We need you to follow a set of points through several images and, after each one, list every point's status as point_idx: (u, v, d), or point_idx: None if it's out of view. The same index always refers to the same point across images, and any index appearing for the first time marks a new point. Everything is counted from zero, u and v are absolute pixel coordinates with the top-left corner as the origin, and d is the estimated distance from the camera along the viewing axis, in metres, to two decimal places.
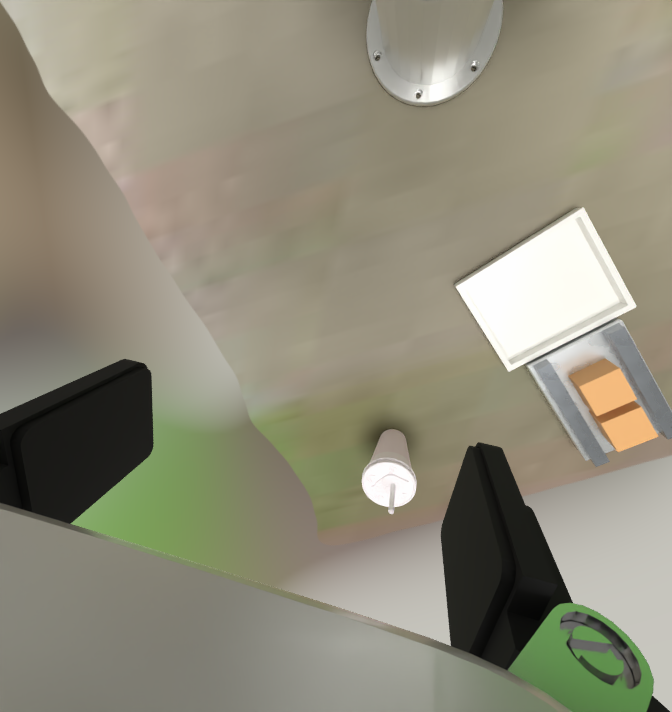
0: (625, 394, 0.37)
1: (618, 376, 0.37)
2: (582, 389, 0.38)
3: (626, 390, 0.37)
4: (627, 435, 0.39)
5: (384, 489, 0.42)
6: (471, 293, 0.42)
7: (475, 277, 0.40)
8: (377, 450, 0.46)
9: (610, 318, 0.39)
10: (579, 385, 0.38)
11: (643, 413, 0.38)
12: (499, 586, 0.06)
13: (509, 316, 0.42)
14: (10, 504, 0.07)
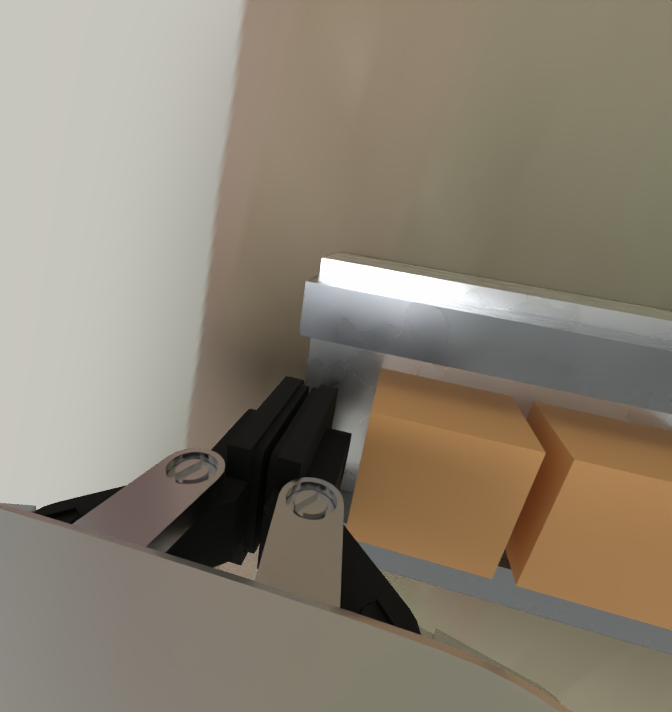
0: (567, 578, 0.09)
1: (658, 611, 0.09)
2: None
3: (579, 589, 0.09)
4: (417, 481, 0.09)
5: None
6: None
7: None
8: None
9: None
10: None
11: (462, 566, 0.10)
12: (269, 470, 0.08)
13: None
14: (243, 517, 0.08)
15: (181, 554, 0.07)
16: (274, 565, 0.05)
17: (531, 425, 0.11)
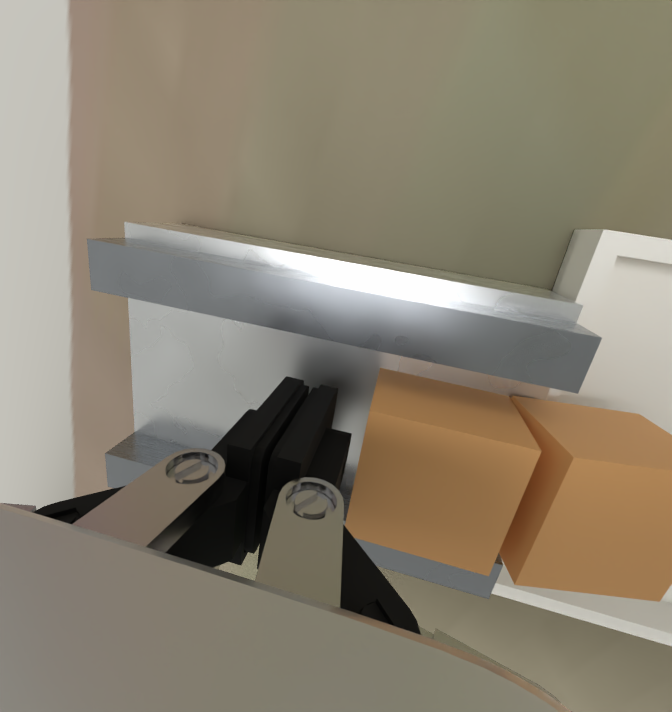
0: (562, 569, 0.09)
1: (640, 586, 0.09)
2: None
3: (573, 578, 0.09)
4: (415, 478, 0.09)
5: None
6: None
7: None
8: None
9: None
10: None
11: (459, 563, 0.10)
12: (269, 470, 0.08)
13: None
14: (243, 517, 0.08)
15: (181, 554, 0.07)
16: (273, 565, 0.05)
17: None
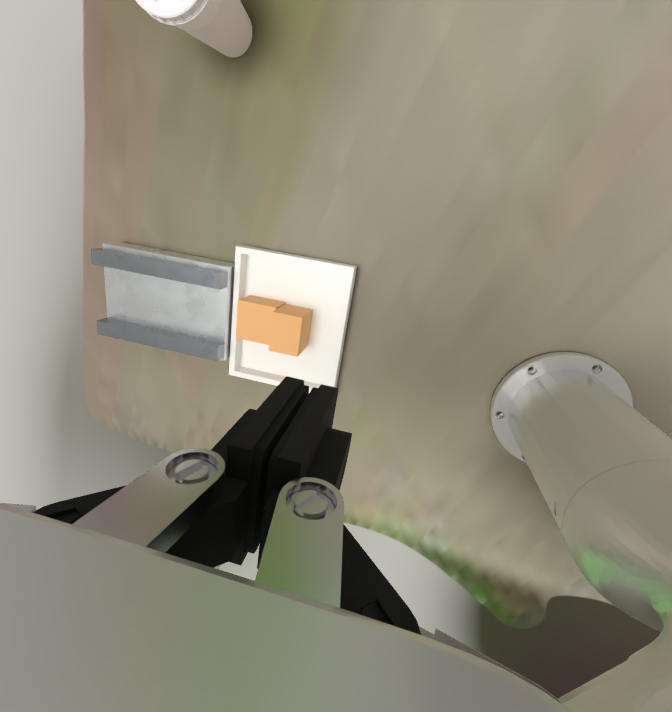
0: (301, 347, 0.36)
1: (307, 343, 0.39)
2: (311, 311, 0.38)
3: (302, 348, 0.37)
4: (250, 318, 0.36)
5: None
6: (335, 273, 0.36)
7: (347, 290, 0.35)
8: None
9: (231, 353, 0.40)
10: (310, 309, 0.38)
11: (264, 342, 0.37)
12: (269, 470, 0.08)
13: (288, 286, 0.38)
14: (243, 517, 0.08)
15: (181, 554, 0.07)
16: (274, 565, 0.05)
17: (276, 318, 0.35)
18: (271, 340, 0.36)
